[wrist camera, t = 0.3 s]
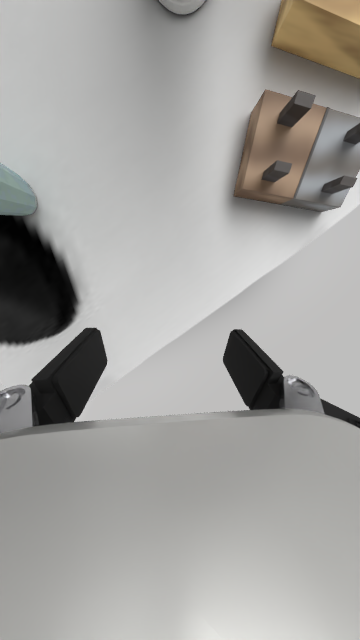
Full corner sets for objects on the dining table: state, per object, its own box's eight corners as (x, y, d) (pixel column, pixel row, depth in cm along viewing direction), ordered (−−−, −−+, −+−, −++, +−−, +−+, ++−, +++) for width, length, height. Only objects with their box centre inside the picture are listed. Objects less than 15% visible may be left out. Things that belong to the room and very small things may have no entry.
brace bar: (281, 0, 20) (313, -70, 16) (391, 48, 23) (444, 0, 19) (270, 48, 22) (296, -4, 18) (373, 86, 25) (418, 51, 21)
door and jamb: (251, 112, 25) (282, 61, 18) (354, 140, 28) (414, 106, 21) (233, 196, 30) (252, 180, 23) (321, 211, 33) (360, 201, 27)
